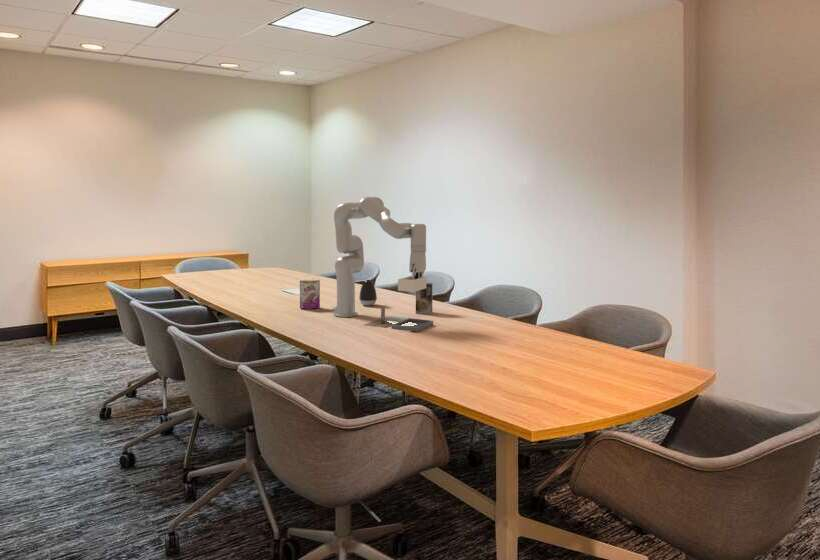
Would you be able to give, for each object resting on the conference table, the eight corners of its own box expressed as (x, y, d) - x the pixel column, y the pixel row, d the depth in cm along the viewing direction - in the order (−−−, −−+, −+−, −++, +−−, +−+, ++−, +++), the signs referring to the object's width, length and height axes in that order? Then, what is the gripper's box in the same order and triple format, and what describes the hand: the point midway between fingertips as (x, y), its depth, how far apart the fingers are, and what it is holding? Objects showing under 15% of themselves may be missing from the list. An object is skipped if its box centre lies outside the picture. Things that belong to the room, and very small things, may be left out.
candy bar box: (299, 309, 343) (299, 280, 341) (300, 307, 348) (299, 279, 345) (320, 308, 344) (319, 280, 342) (320, 307, 349) (319, 279, 347)
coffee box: (432, 311, 337) (433, 283, 335) (431, 314, 331) (432, 284, 329) (416, 311, 338) (416, 282, 336) (415, 313, 332) (415, 284, 330)
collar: (397, 290, 290) (398, 279, 289) (410, 286, 303) (411, 276, 302) (413, 292, 286) (413, 280, 286) (426, 288, 299) (426, 277, 298)
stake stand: (362, 326, 298) (362, 310, 297) (379, 320, 313) (379, 304, 312) (386, 329, 292) (386, 312, 291) (402, 322, 308) (402, 307, 307)
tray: (391, 329, 291) (391, 325, 291) (408, 322, 308) (409, 318, 308) (416, 332, 285) (416, 327, 285) (433, 325, 302) (433, 320, 302)
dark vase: (357, 304, 361) (357, 278, 358) (375, 303, 363) (375, 278, 361) (360, 307, 351) (360, 280, 349) (378, 306, 353) (378, 280, 351)
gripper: (418, 247, 306) (418, 284, 309) (404, 250, 292) (404, 288, 295) (431, 248, 303) (431, 285, 305) (418, 250, 289) (418, 289, 292)
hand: (418, 286), depth 300 cm, fingers closed on collar, 1 cm apart
